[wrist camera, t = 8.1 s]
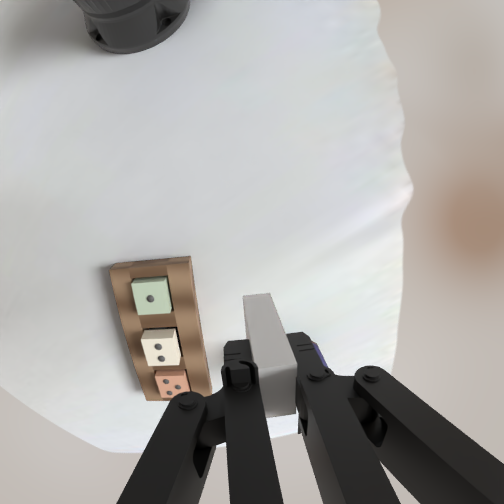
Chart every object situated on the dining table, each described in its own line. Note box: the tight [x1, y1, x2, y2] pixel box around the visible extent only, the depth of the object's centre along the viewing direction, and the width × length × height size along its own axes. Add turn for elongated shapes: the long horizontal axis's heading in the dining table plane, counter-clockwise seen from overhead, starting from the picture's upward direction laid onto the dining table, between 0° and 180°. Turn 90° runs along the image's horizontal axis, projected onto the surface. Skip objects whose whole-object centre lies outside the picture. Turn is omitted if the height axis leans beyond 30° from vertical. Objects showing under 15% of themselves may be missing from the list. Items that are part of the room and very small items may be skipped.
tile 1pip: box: [131, 275, 173, 315], centre depth 38 cm, size 4×4×3 cm
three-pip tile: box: [155, 369, 190, 398], centre depth 42 cm, size 4×4×3 cm
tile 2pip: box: [141, 329, 181, 366], centre depth 39 cm, size 4×4×3 cm
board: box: [109, 256, 212, 401], centre depth 42 cm, size 23×11×3 cm, turn 4°
